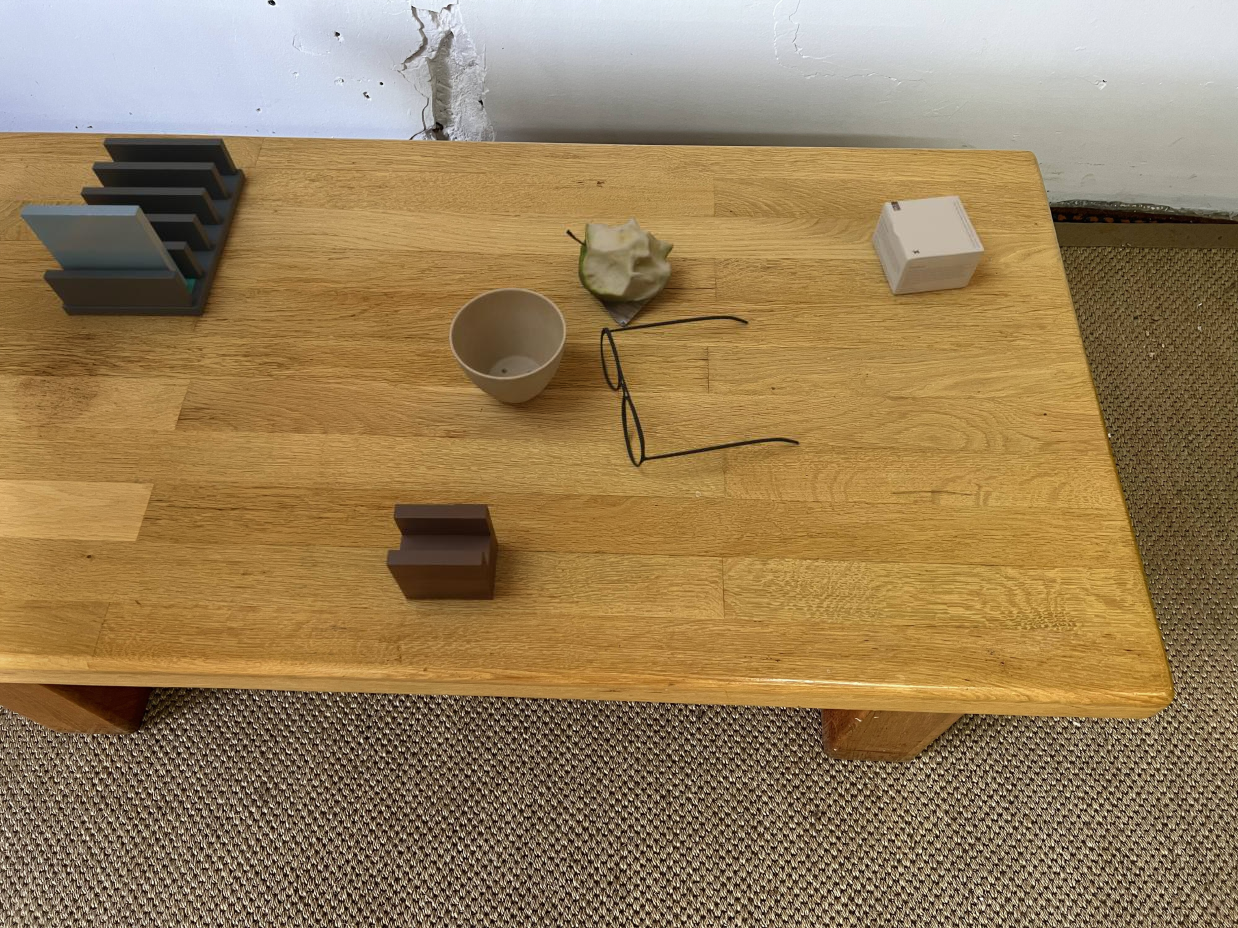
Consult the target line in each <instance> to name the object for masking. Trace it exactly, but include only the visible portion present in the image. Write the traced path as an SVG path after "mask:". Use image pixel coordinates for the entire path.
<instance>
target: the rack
mask: <svg viewBox="0 0 1238 928" xmlns="http://www.w3.org/2000/svg"><path fill="white" fill-rule="evenodd" d="M102 145H103V147H104V149H105V150H106V152H107V153H108V154H109V156H110V158H111V160H112V161H94V162H93V164H92V167H91V170H92V171H93V173H94V174H95V176H96V177H97V179H98V180H99V182H100V183H101V185H102V186H83V187H82V189H81V191H80V196H81V197H82V199H83V200H84V202H85V203H86V205H111V206H139V207H140V208H141V210H142V211H143V213H144V215H145V216H146V218H147V219H148V221H149V222H150V224H151V226H152V227H153V229H154V230H155V232H156V234H157V235H158V237H159V238H160V240H161V242H162V243H163V245H164V246H165V248H166V249H167V251H168V253H169V254H170V256H171V257H172V259H173V261H174V262H175V264H176V265H177V267H178V269H179V270H180V272H181V273H182V275H183V276H184V278H185V280H186V281H187V283H188V285H187V287H186V285H185V284H184V282H183V281H182V279H181V277H180V276H179V274H178V273H177V271H163V270H63V269H46V270H45V272H44V274H43V277H42V279H43V280H44V281H45V283H46V284H48V286H49V287H50V289H52V291H53V292H54V293H55V294H56V295H57V297H58V298H59V299H60V300H61V301H62V305H61V309H62V310H63V311H64V312H65V313H66V315H67V316H151V317H152V316H154V317H155V316H157V317H158V316H164V317H165V316H167V317H168V316H170V317H173V316H175V317H186V316H187V317H202V316H203V314H204V310H205V308H206V304H207V301H208V298H209V294H210V291H211V288H212V285H213V282H214V279H215V276H216V273H217V269H218V267H219V263H220V261H221V257H222V253H223V250H224V248H225V244H226V241H227V238H228V235H229V232H230V229H231V225H232V223H233V219H234V216H235V213H236V210H237V206H238V204H239V200H240V198H241V194H242V192H243V188H244V185H245V181H246V178H247V177H246V174H245V173H244V170H243V169H242V168H237V166H236V164H235V162H234V160H233V158H232V156H231V154H230V152H229V150H228V148H227V146H226V143H225V141H224V139H223V138H219V137H218V138H215V137H214V138H213V137H212V138H211V137H209V138H206V137H203V138H202V137H105V138H104V140H103V142H102Z"/></svg>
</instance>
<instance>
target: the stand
mask: <svg viewBox="0 0 1238 928" xmlns="http://www.w3.org/2000/svg"><path fill="white" fill-rule="evenodd" d="M393 509H394V510H393V517H392V518H393V520H394V522H395V524H396V526H397V528H398V531H399V532H400V535H401V538H400V545H399V549H388V550H387V555H386V563H385V565H386V567H387V569H388V570H389V572H390V574H391V575H392V577H393V579H394V580H395V582H396V584H397V586H398V587H399V589H400V591H401V592H402V594H403V596H404V598H405V599H406V600H449V601H450V600H451V601H453V600H454V601H455V600H456V601H457V600H459V601H460V600H462V601H463V600H464V601H465V600H467V601H468V600H469V601H470V600H473V601H476V600H477V601H482V600H483V601H493V600H494V598H495V586H496V585H495V584H496V575H497V574H496V573H497V563H498V562H497V560H498V550H499V549H498V548H499V542H498V539H497V534H496V531H495V529H494V528H495V527H494V525H493V520H492V516H491V514H490V510H489V506H488V504H468V503H467V504H463V503H462V504H459V503H457V504H456V503H449V504H445V503H441V504H439V503H395V504H394V508H393Z"/></svg>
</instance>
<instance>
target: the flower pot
mask: <svg viewBox="0 0 1238 928" xmlns="http://www.w3.org/2000/svg"><path fill="white" fill-rule="evenodd" d="M448 334H449V335H448V338H449V346H450V350H451V352H452V354H453V356H454V358H455V361H456V362H457V364H458V366H459V367H460V368H461V370H462V371H463V373H464V374H465V375H466V376H467V378H469V380H470V381H471V382H472V383H473V384H474V385H475V386H476V387H477V388H478V389H479V390H481V391H482V392H484V393H485V394H487V395H489V396H490V397H492V398H494V399H496V400H499V401H501V402H505V403H508V404H509V403H510V404H521V403H524V402H527V401H529V400H532V399H533V398H534V397H536V396H537V395H539V394H540V393H541V392H542V391H543V390H544V389H545V388H546V387H547V386H548V384H549V383H550V382H551V381H552V379H553V377H554V376H555V374H556V372H557V370H558V368H559V366H560V364H561V361H562V358H563V354H564V351H565V346H566V341H567V323H566V320H565V317H564V315H563V313H562V311H561V310H560V308H559V306H557V304H556V303H555V302H553V301H552V300H551V299H549V298H548V297H547V296H545V295H543V294H541V293H539V292H537V291H534V290H530V289H528V288H527V289H526V288H521V287H501V288H495V289H492V290H488V291H485V292H483V293H481V294H478V295H477V296H475V297H473V298H472V299H470V300H469V301H467V302H466V303H465V304H464V305H463V306H462V307H461V308H460V309H459V310H458V312H457V313H455V316H454V317H453V319H452V322H451V324H450V328H449V332H448Z"/></svg>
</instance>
